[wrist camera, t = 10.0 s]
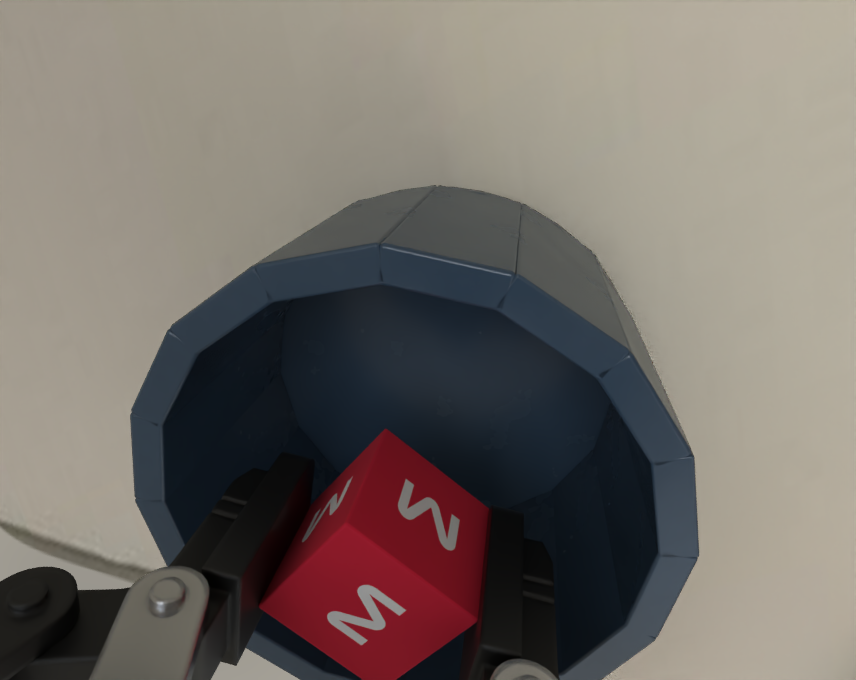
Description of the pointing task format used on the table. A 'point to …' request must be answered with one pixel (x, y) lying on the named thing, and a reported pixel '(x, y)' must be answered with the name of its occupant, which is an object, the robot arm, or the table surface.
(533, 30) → the table surface
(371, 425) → the tin
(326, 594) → the dice
